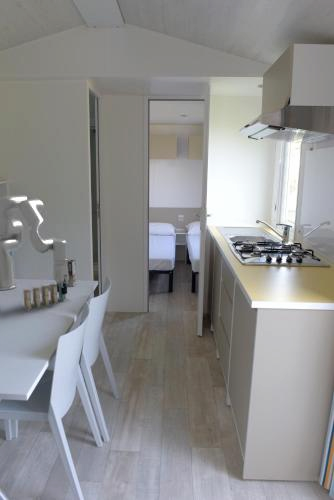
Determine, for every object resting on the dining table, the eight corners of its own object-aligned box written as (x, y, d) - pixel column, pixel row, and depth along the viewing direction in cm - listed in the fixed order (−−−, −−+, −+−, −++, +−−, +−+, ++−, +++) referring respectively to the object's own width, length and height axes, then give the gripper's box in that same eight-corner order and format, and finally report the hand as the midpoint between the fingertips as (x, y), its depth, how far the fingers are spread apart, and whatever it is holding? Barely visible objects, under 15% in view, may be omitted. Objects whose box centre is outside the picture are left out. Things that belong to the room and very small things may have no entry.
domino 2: (33, 304, 207) (32, 287, 205) (36, 304, 208) (35, 286, 206) (37, 307, 203) (36, 289, 201) (40, 306, 204) (39, 289, 202)
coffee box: (76, 283, 246) (75, 259, 243) (73, 286, 240) (72, 262, 236) (63, 283, 247) (62, 259, 243) (59, 286, 241) (58, 261, 237)
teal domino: (58, 297, 216) (58, 280, 214) (61, 296, 218) (61, 280, 215) (62, 299, 213) (62, 282, 211) (65, 299, 214) (65, 282, 212)
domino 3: (42, 302, 210) (41, 285, 208) (45, 302, 211) (44, 285, 209) (46, 305, 207) (45, 287, 204) (49, 304, 208) (48, 287, 206)
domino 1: (24, 307, 204) (23, 289, 201) (27, 306, 205) (26, 288, 203) (28, 309, 200) (26, 291, 198) (31, 308, 201) (30, 291, 199)
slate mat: (19, 307, 204) (19, 306, 204) (63, 297, 221) (63, 296, 221) (25, 312, 197) (25, 311, 197) (71, 301, 214) (71, 300, 214)
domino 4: (50, 300, 213) (49, 283, 211) (53, 300, 215) (52, 283, 212) (54, 303, 210) (53, 286, 208) (57, 302, 211) (56, 285, 209)
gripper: (47, 259, 214) (49, 290, 218) (61, 265, 202) (62, 298, 206) (60, 257, 219) (61, 287, 223) (74, 263, 207) (75, 295, 211)
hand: (62, 292), depth 215 cm, fingers closed on teal domino, 4 cm apart
